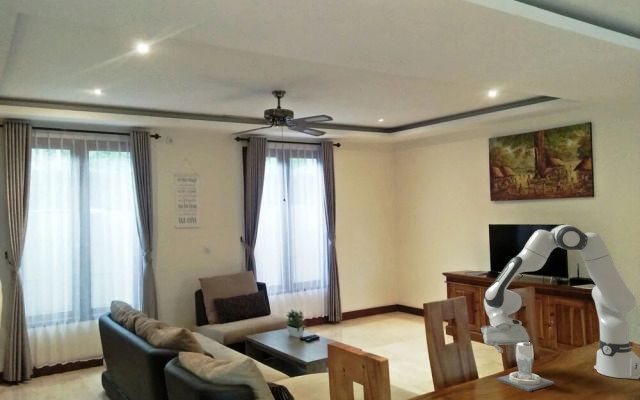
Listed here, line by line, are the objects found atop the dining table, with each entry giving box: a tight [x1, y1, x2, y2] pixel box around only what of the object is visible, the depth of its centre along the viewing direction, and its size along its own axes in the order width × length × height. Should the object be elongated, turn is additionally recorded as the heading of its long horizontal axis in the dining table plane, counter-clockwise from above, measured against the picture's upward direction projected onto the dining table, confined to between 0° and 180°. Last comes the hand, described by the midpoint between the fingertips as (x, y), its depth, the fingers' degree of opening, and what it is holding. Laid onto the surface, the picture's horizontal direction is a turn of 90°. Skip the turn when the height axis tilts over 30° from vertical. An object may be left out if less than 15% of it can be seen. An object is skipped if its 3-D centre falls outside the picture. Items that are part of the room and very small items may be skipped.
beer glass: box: [515, 342, 534, 380], centre depth 209 cm, size 7×7×15 cm
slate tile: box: [496, 371, 555, 392], centre depth 209 cm, size 16×16×2 cm
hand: (511, 352), depth 220 cm, fingers open, 8 cm apart
